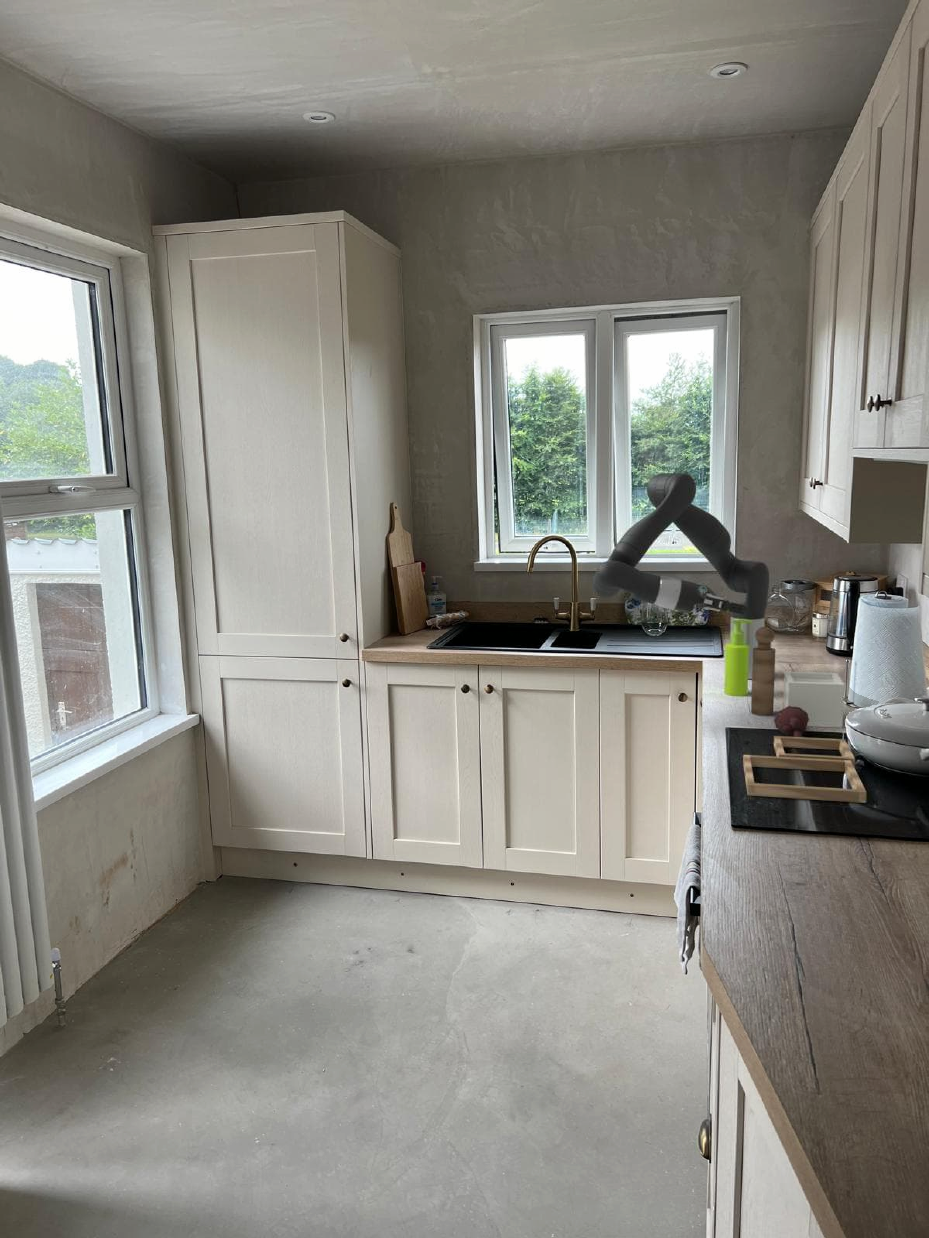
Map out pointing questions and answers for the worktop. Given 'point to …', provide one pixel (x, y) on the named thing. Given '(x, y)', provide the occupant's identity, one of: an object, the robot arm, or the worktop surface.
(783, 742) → the frame
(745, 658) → the soap dispenser
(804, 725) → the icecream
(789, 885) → the worktop surface
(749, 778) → the frame
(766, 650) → the pepper mill
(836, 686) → the plinth
